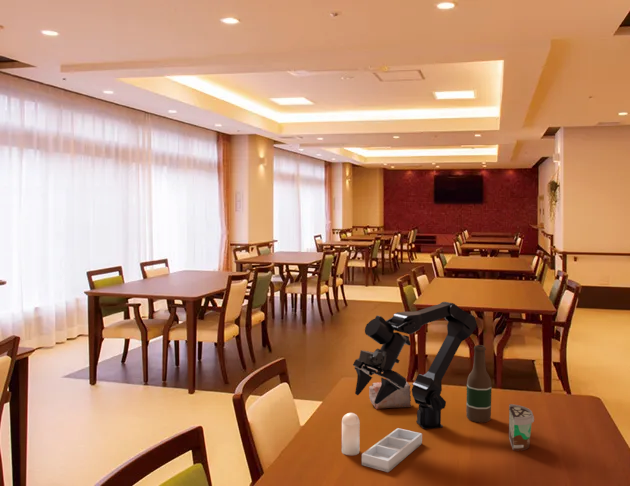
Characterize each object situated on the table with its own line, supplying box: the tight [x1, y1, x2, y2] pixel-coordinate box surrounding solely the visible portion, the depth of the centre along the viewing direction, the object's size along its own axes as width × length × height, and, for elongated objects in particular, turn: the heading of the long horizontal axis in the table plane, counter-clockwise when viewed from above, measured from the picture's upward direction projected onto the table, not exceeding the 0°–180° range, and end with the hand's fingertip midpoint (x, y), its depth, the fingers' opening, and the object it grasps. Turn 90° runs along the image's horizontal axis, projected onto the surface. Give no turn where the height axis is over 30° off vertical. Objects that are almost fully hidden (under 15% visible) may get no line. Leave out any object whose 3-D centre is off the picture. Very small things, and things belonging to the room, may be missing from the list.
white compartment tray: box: [361, 427, 423, 473], centre depth 162 cm, size 22×8×3 cm, turn 147°
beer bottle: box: [465, 344, 493, 423], centre depth 189 cm, size 8×8×24 cm
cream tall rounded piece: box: [341, 412, 361, 456], centre depth 163 cm, size 5×5×11 cm
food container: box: [508, 403, 535, 452], centre depth 168 cm, size 12×6×10 cm, turn 168°
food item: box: [368, 380, 412, 410], centre depth 201 cm, size 14×8×10 cm, turn 100°
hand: (365, 398), depth 169 cm, fingers open, 9 cm apart
